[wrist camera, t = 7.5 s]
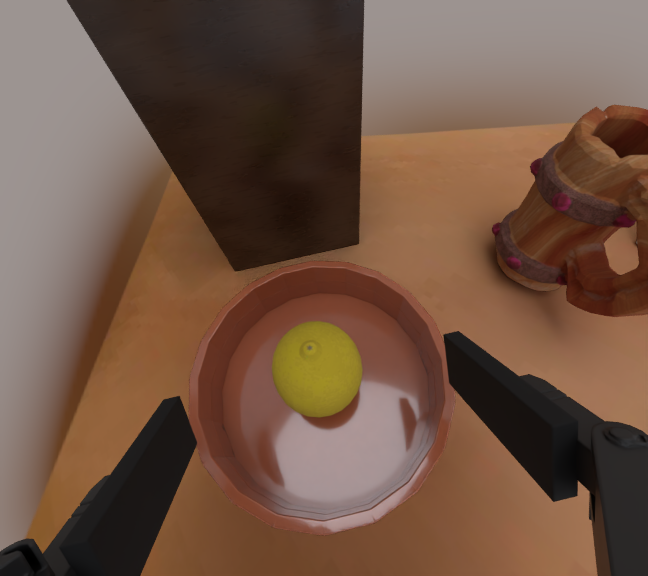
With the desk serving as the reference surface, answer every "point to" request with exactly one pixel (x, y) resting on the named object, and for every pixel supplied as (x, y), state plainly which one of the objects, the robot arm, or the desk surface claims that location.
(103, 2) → the stand
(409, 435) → the bowl
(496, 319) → the desk surface
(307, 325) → the lemon
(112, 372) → the desk surface
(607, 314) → the mug
